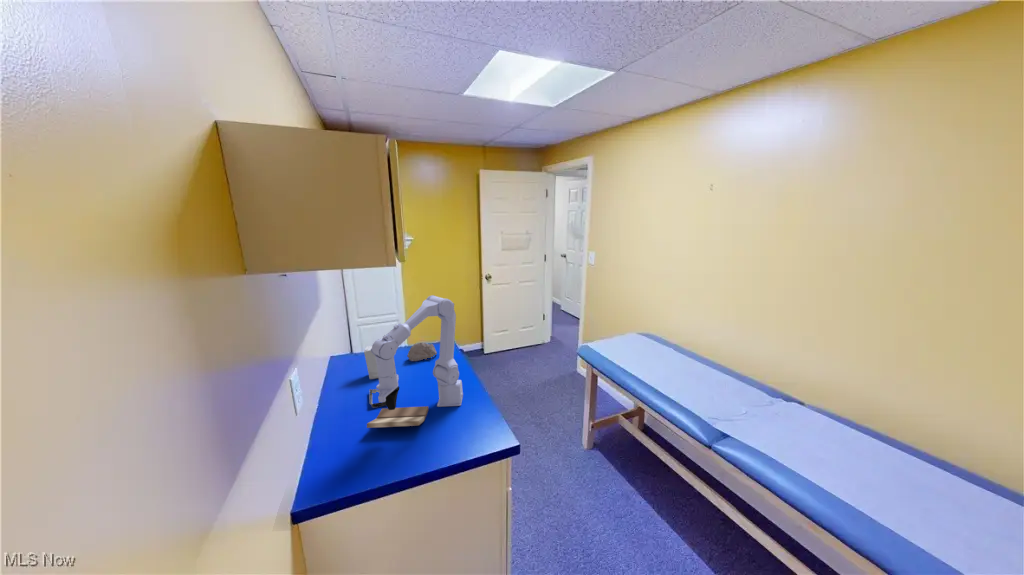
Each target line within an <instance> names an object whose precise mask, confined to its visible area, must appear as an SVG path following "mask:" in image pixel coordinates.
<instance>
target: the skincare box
mask: <svg viewBox="0 0 1024 575" xmlns="http://www.w3.org/2000/svg"><path fill="white" fill-rule="evenodd" d="M371 349H372V345H367V346H365V349H364V351H363V352H364V358H365V363H366V367H367V372H368V377H369V380H375V379H379V378H378V371H377V365H376V358H375V355H374V354H373V353H372V352H371Z"/></svg>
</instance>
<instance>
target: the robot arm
mask: <svg viewBox="0 0 1024 575" xmlns="http://www.w3.org/2000/svg"><path fill="white" fill-rule="evenodd" d="M428 317H438V318H439V319H440V320H441V322H440V337H439V338H440V340H439V358H437V359H436V360H435V361H434V367H433V370H432V375H433V377H434V378H435V379H436V381H437V389H438V398H439V399H438V401H437V404H436V407H438V408H439V407H440V408H441V407H458V406H459V407H460V406H462V402H463V398H464V392H463V382H462V379H459V377H460V371H459V367H458V366H459V364H458V363H457V362H456V360H455V358H454V357H455V356H454V354H455V353H454V352H455V336H456V319H457V314H456V312H455V303H454V302H453V301H452V300H451V299H449V298H445V297H444V298H443V297H440V296H436V295H434V294H432V295H428V296H427V298H426V299H424V300H423V301H422V304H421V305H420V306H419V308H418V309H416V311H415V312H413V313H412V315H411V316H410V317H409V318H408V319H407V320H406V321H405V322H404V323H401V322H400V323H398V324H395V325H393V328H392V329H391V330H390V331H388V333H387V334H386V335H385V334H384V335H383V336H382V338H380V339H379V338H378V339H376V340H375V341H373V343H372V345H371V346H372V349H371V352H372V353H373V354H374V355H375V358H376V365H377V371H378V378H377V379H378V384H377V385H376V388H375V389H377V390H378V389H379V392H378V393H379V395H378V397H377V399H378V403H380V402H385V403H386V405H387V406H386V408H388V409H389V410H395V408H397V398H398V394H399V390H400V386H399V379H400V378H399V374H397V369H396V368H397V367H396V363H395V361H396V360H395V355H396V353H397V350H398V349H399V347H400V346H402V344H403V343H404V342H405V341H406V340H407V339H408V338H409V337H410V336H411V335H412V334H411V333H412V330H413V329H415V328H416V327H417V326H418V325H419V324H420V323H422V322H424V320H426V319H427V318H428Z"/></svg>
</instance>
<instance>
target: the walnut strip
mask: <svg viewBox="0 0 1024 575" xmlns="http://www.w3.org/2000/svg"><path fill="white" fill-rule="evenodd" d="M428 412H429V406H428V405H426V406H424V405H423V406H405V407H396V408H395V410H389V409H388V408H387V407H384V408H381V410H380V411H379V413H378V415H377V416H376V418H375V419H381V418H401V417H422V416H425V419H426V418H427V416H428Z"/></svg>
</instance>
